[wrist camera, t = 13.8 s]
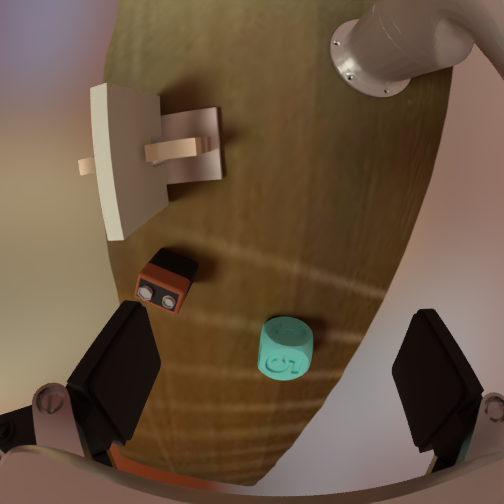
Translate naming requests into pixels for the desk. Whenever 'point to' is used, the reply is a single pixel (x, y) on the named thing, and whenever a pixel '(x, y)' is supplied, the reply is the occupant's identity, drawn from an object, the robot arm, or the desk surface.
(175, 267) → the battery
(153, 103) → the beige rectangular panel
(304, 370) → the decorative dice
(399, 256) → the desk surface
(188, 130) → the stand
